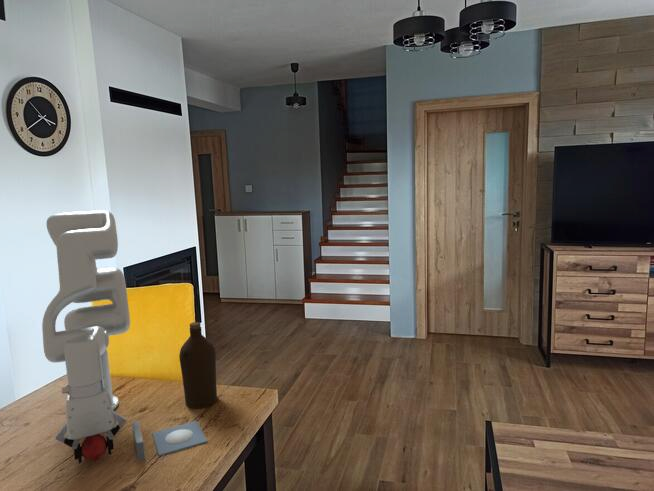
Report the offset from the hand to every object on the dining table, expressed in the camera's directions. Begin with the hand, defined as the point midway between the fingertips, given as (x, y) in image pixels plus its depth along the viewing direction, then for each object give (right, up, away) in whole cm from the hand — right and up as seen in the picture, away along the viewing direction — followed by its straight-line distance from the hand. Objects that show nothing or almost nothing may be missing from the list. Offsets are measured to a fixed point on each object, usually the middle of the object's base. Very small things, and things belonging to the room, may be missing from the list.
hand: (95, 455), depth 115 cm
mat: (+18, +1, +9) cm, 20 cm away
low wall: (+9, 0, +5) cm, 10 cm away
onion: (0, -2, 0) cm, 2 cm away
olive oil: (+18, +3, +30) cm, 35 cm away
